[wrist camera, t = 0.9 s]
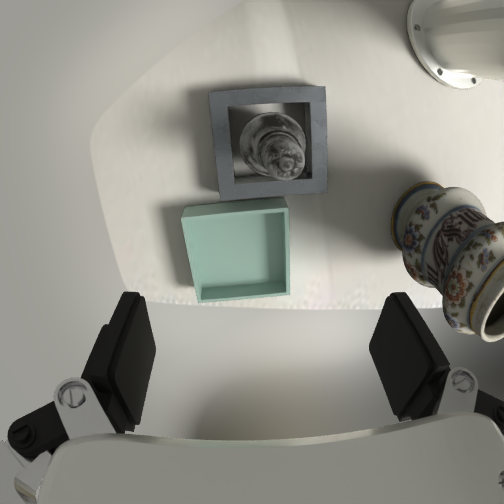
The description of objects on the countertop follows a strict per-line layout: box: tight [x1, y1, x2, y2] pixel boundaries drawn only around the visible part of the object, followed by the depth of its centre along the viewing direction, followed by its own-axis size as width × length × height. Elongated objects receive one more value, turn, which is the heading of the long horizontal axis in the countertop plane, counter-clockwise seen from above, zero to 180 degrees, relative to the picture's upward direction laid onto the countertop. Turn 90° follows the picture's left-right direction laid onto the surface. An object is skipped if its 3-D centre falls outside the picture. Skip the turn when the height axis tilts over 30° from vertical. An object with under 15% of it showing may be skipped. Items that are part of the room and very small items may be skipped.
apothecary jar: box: [391, 182, 504, 342], centre depth 26 cm, size 12×12×18 cm
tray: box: [181, 197, 290, 303], centre depth 33 cm, size 10×10×3 cm
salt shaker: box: [239, 112, 306, 181], centre depth 24 cm, size 6×6×12 cm
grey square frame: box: [209, 86, 327, 201], centre depth 28 cm, size 10×10×2 cm
